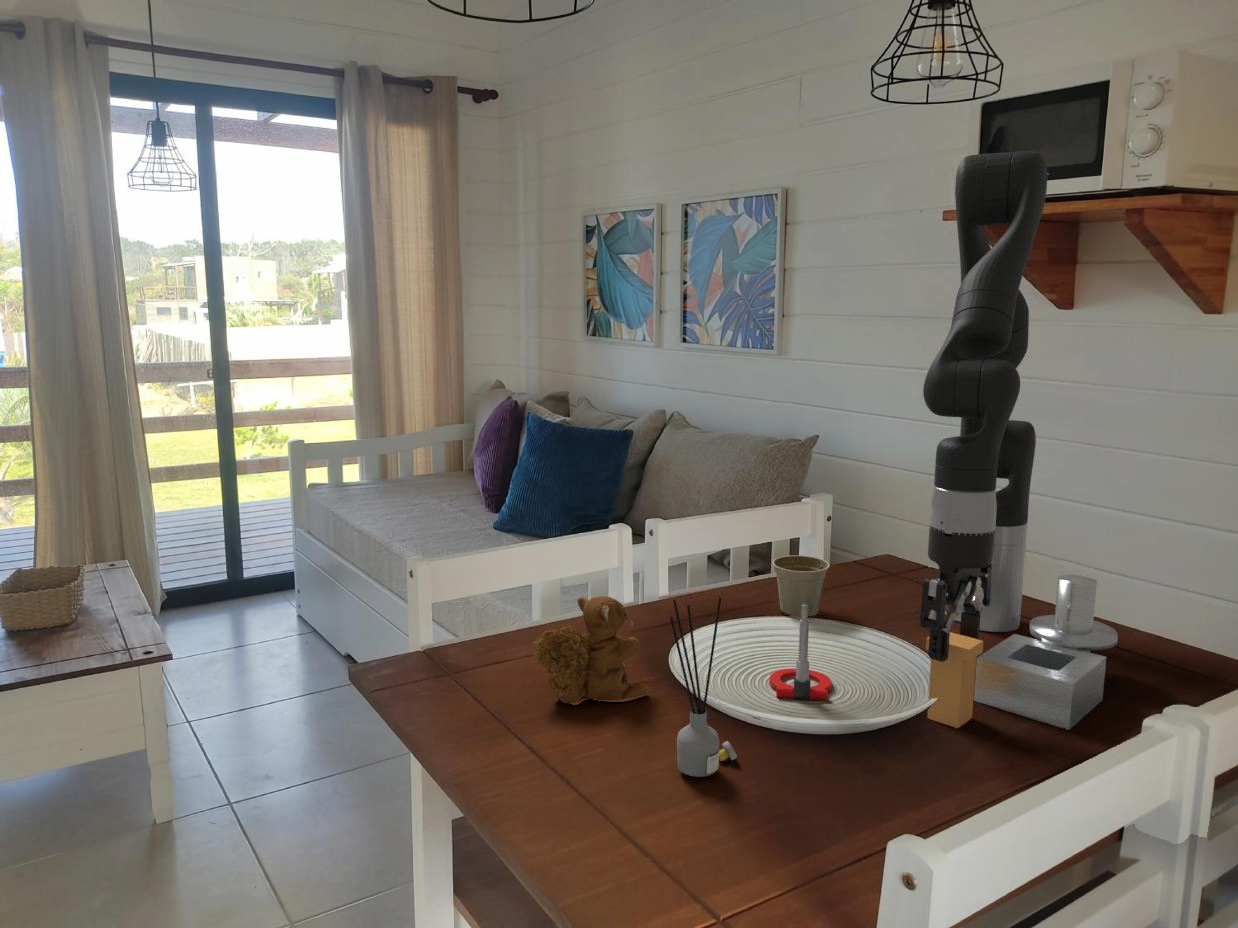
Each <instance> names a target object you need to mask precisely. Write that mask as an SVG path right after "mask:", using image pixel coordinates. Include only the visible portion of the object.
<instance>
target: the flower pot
mask: <svg viewBox="0 0 1238 928" xmlns="http://www.w3.org/2000/svg"><path fill="white" fill-rule="evenodd" d="M771 563H772V566H773V567H774V568H773V569H774V573H775V574H776V579H777V580H776V581H777V590H778V600H779V608H780V609H781V610H782V611H784V612H786V613H789V614H791V615H790V616H797V617H802V605H803V604H807V605H808V617H811V616H813V615H815V616H817V615H818V613H819V608H820V601H821V598H822V597H821V596H822V590H823V585H824V580H825V577H826V576H827V572H828V570H829V568H830V566H831V565H830V563H829V562H828V561H827V560H825V559H822V558H820V557H815V556H811V555H810V556H809V555H797V554H796V555H794V554H793V555H783V556H779V557H776V558H774V559H773V560H772V562H771ZM781 610H780V611H781ZM784 612H783V613H784ZM816 614H817V615H816ZM790 616H789V617H790ZM797 617H796V618H797ZM813 617H814V616H813Z"/></svg>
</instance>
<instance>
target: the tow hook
mask: <svg viewBox="0 0 1238 928" xmlns="http://www.w3.org/2000/svg"><path fill="white" fill-rule="evenodd" d="M808 617H809V616H808V605H807V604H803V605H802V618H800V620H799V632H798V633H799V635H798V636H799V637H798V638H799V639H798V660H796V662H795V663H796V665H795V666H796V667H795V668H783V669H779V670H776V671H773V672H771V674H770V675H769V679H768V680H769V681H768V682H769V685H770V686H771V687H772V688H773V689H775V690H776V695H775V696H776V698H784V699H785V698H786V699H787V698H789V699H794V700H803V701H810V700H814V701H815V700H816V701H827V700H828V698H829V697H828V693H829V691H831V690H832V688H833V683H832V682H833V680H832V679H831V678H830V677H829V676H828V675H826V674H824V673H823V672H822V673H821V672H819V671H815V670H811V669H810V661H809V660H808V658H809V657H808V656H809V655H808V654H809V653H808V652H809V651H808V650H809V633H810V632H809V631H810V630H809V629H810V620H809V618H808ZM794 676H795V677H794ZM788 677H789V678H793V685H792V684H789V683H786V682H784V681H782V680H784V679H789V678H788ZM811 680H813V681H815V682H817V683H818V684H816V685H813V686H812V685H811V683H812V682H811Z"/></svg>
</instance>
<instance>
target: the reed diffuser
mask: <svg viewBox="0 0 1238 928" xmlns="http://www.w3.org/2000/svg"><path fill="white" fill-rule="evenodd" d="M672 601H673V607H674V611H675V615H676V620H677V625H678V630H679V634H680V638H681V642H682V648H683V652H684V656H685V661H686V665H687V670H688V675H689V678H690V684H691V688H692V693H693V696H694V701H695V706H694V703H693V697H692V694H691V690H690V686H689V680H688V676H687V673H686V668H685V664H684V660H683V655H682V653H681V651H682V650H681V647H680V643H679V639H678V636H677V631H676V627H675V626H676V625H675V623H674V617H673V616H672V615H670V616H669V619H670V620H669V621H670V624H671V628H672V631H673V636H674V640H675V644H676V649H677V654H678V656H679V661H680V664H681V665H680V666H681V670H682V673H683V677H684V678H683V679H684V681H685V686H686V691H687V694H688V698H689V702H690V703H689V704H690V707H691V708H690V710H689V724H687V725H685V726H684V727H682V728H681V729H680V730H679V731H678V734H677V737H676V757H677V759H676V761H677V769H678V770H679V771H680V772H681V773H683V774H685V775H687V776H691V777H697V778H698V777H701V778H702V777H708V776H711V775H713V774H715V773H717V770H718V769H719V766H720V765H719V763H720V762H723V761H725V760H727V759H728V758H730V759H731V760H730V759H729V760H730V761H734V760H736V759H737V758H738V756H737V754H736V752H735V749H734V748H733V746H732V745H731V743H730V741H728V740H726V741H724V742H723V743H721V745H722V749H720V737H719V734H718V732H717V731H716V729H714V728H712V727H711V726H710V725H709V724H708V720H707V719H708V710H707V707H706V706H707V699H708V694H709V693H708V692H709V686H710V680H711V679H710V677H711V673H712V665H713V660H714V659H713V657H714V652H715V651H714V650H715V645H716V639H717V632H718V631H717V630H718V624H719V616H720V611H721V603H722V597H720V596H719V597H718V602H717V603H718V604H717V610H716V617H715V624H714V630H713V638H712V644H711V651H710V656H709V666H708V672H707V678H706V685H705V692H704V699H703V704H702V698H701V689H700V681H699V672H698V665H697V664H698V663H697V657H696V656H697V655H696V650H695V649H696V648H695V647H696V646H695V641H694V639H695V638H694V633H693V623H692V616H691V615H692V613H691V605H690V604H687V605H686V607H687V616H688V624H689V632H690V640H691V649H692V658H693V665H694V673H695V681H696V687H695V683H694V682H695V681H694V678H693V674H692V670H691V665H690V660H689V656H688V652H687V647H686V641H685V637H684V633H683V628H682V625H681V620H680V615H679V611H678V605H677V602H676V599H674V598H673V599H672ZM695 688H696V689H695ZM696 691H697V693H696ZM702 705H703V706H702Z"/></svg>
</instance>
